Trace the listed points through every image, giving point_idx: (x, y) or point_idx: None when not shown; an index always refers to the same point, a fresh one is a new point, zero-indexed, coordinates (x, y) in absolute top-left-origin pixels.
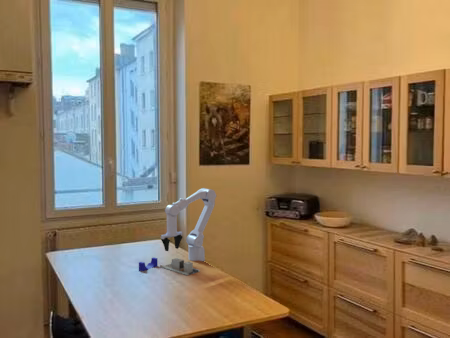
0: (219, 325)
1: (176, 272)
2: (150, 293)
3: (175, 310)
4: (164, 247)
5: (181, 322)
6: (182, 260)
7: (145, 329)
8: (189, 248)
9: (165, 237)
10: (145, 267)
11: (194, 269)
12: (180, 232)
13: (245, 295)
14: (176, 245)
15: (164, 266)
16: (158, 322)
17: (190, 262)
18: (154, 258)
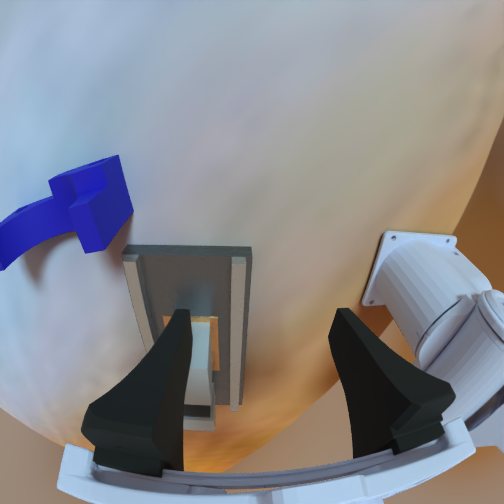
0: None
1: None
2: (27, 376)
3: (60, 428)
4: (162, 332)
5: (60, 438)
6: (200, 404)
7: (17, 417)
8: (421, 328)
9: (135, 481)
10: (25, 250)
11: (230, 399)
12: (417, 484)
13: (203, 465)
14: (344, 346)
15: (132, 299)
16: (32, 422)
17: (210, 427)
18: (81, 238)
